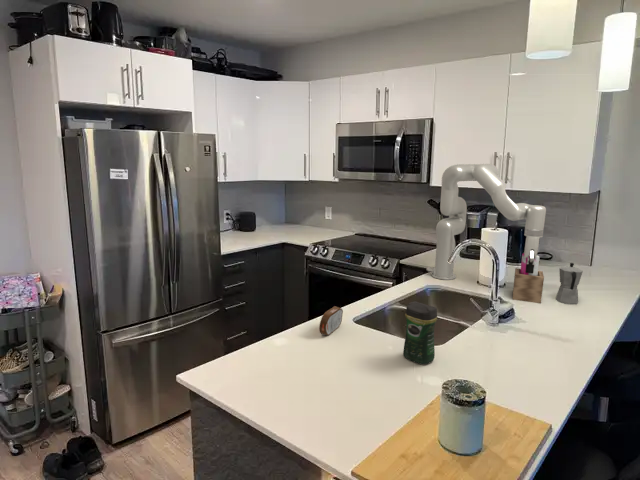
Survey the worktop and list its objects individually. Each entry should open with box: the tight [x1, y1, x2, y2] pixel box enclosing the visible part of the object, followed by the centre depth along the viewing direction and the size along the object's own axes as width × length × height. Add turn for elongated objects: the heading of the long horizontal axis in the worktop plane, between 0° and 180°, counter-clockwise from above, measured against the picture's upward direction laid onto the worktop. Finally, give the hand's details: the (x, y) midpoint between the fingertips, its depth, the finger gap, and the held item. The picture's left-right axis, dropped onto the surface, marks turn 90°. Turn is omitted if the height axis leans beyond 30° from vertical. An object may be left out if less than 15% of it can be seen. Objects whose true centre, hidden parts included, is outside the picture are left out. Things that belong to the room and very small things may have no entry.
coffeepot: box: [555, 262, 584, 305], centre depth 198 cm, size 15×9×18 cm, turn 160°
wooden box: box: [512, 268, 545, 304], centre depth 203 cm, size 12×12×12 cm
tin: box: [318, 305, 344, 336], centre depth 162 cm, size 15×3×8 cm, turn 152°
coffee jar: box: [402, 300, 438, 365], centre depth 141 cm, size 10×8×19 cm
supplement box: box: [520, 253, 540, 276], centre depth 202 cm, size 6×6×12 cm
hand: (529, 270), depth 202 cm, fingers closed on supplement box, 6 cm apart
